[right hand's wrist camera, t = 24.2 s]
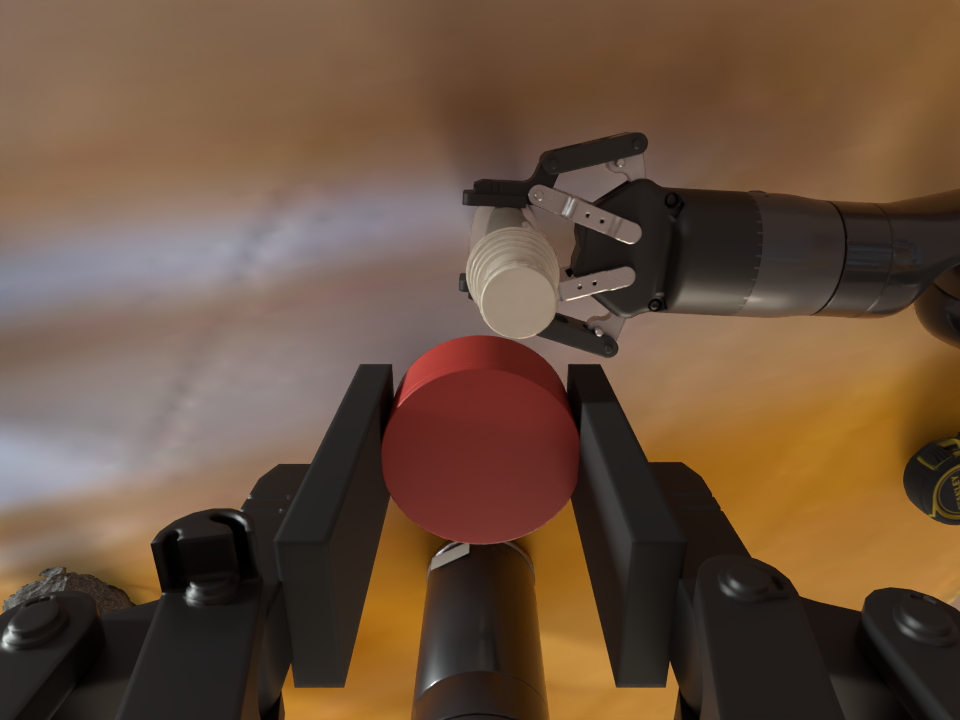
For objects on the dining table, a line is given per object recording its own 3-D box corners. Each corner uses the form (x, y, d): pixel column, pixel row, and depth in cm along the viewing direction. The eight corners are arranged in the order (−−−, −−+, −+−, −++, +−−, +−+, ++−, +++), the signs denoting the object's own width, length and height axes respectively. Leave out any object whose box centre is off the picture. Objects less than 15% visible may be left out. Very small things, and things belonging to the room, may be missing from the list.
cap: (604, 426, 15) (622, 472, 13) (471, 520, 16) (470, 576, 14) (492, 297, 14) (494, 325, 12) (355, 408, 15) (337, 451, 13)
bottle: (531, 261, 44) (567, 359, 25) (469, 256, 44) (459, 351, 25) (538, 196, 42) (581, 251, 24) (473, 191, 42) (466, 243, 24)
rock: (9, 607, 55) (-49, 666, 49) (46, 541, 52) (-10, 595, 46) (148, 670, 58) (109, 734, 52) (188, 611, 55) (153, 671, 49)
